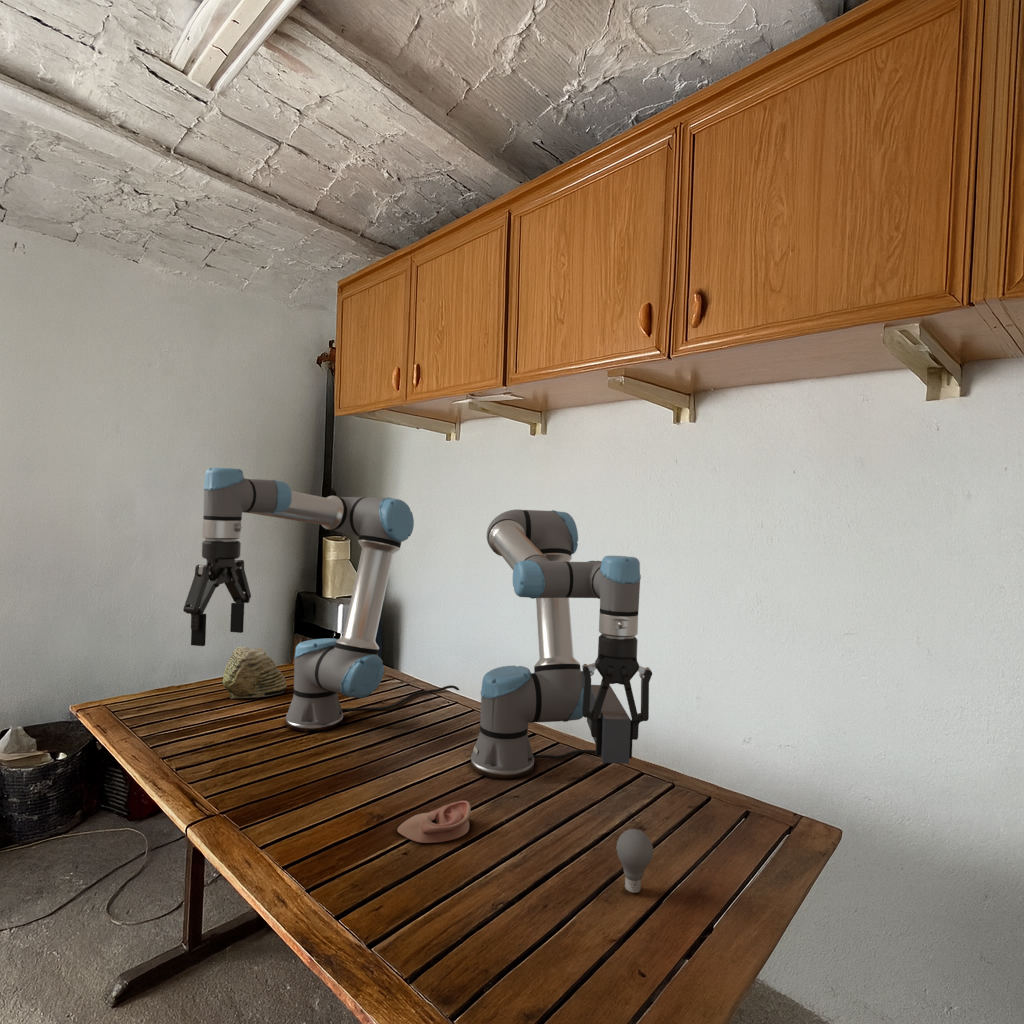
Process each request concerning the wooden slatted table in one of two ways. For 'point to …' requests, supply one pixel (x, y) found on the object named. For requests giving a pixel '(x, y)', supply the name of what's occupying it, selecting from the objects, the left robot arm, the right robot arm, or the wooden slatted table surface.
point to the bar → (612, 727)
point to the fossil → (252, 674)
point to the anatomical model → (438, 824)
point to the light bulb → (634, 857)
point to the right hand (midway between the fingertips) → (613, 754)
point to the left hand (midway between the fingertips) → (218, 638)
